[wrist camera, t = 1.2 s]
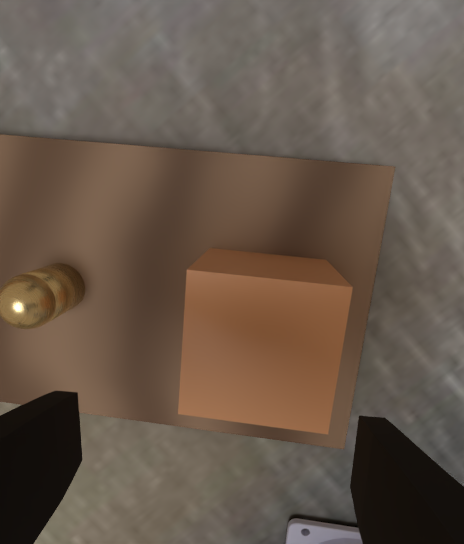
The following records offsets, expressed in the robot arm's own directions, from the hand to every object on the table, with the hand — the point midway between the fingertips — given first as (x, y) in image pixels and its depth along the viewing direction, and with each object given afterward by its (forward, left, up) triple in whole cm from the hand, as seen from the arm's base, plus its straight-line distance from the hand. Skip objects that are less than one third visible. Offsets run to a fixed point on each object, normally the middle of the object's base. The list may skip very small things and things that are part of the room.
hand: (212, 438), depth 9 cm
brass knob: (+9, -1, -8) cm, 12 cm away
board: (+4, -1, -10) cm, 11 cm away
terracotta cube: (-1, -1, -8) cm, 9 cm away
